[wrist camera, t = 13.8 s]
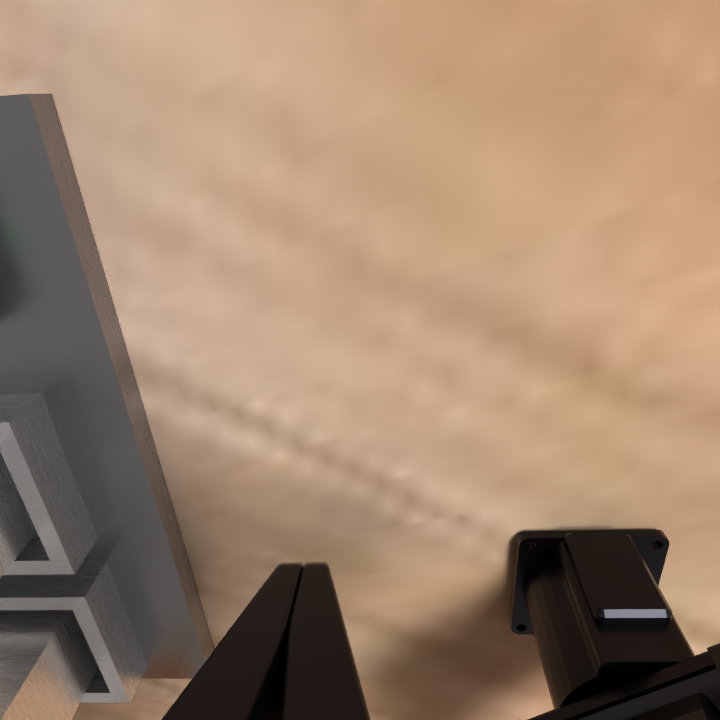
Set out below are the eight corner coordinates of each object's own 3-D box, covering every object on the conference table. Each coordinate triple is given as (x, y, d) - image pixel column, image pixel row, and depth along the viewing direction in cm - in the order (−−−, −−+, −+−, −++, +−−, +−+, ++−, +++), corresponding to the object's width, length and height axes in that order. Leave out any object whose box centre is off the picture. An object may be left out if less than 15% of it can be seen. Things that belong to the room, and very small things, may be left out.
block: (109, 644, 27) (27, 807, 21) (28, 644, 28) (-77, 805, 21) (83, 584, 25) (-16, 745, 19) (-3, 585, 26) (-128, 743, 19)
